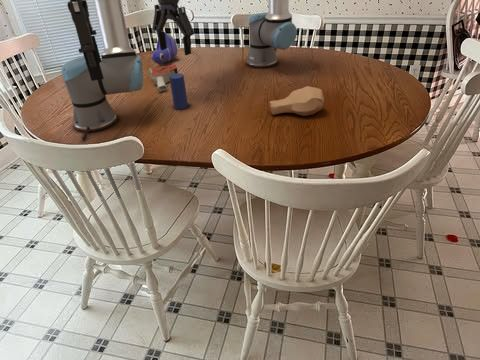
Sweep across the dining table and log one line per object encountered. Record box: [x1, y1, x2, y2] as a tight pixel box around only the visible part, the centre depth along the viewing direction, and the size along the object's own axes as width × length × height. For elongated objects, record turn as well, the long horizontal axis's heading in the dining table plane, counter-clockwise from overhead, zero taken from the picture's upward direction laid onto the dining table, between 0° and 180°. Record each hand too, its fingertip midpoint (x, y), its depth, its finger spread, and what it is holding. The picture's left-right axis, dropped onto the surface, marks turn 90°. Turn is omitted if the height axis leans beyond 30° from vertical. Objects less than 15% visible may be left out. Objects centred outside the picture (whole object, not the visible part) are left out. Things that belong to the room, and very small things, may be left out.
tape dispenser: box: [148, 64, 179, 93], centre depth 162 cm, size 18×5×20 cm
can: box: [169, 72, 189, 110], centre depth 138 cm, size 6×6×12 cm
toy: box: [150, 32, 178, 67], centre depth 182 cm, size 10×17×25 cm
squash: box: [268, 85, 325, 117], centre depth 129 cm, size 11×20×9 cm, turn 92°
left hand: (97, 70), depth 88 cm, fingers open, 13 cm apart
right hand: (175, 51), depth 139 cm, fingers open, 13 cm apart
